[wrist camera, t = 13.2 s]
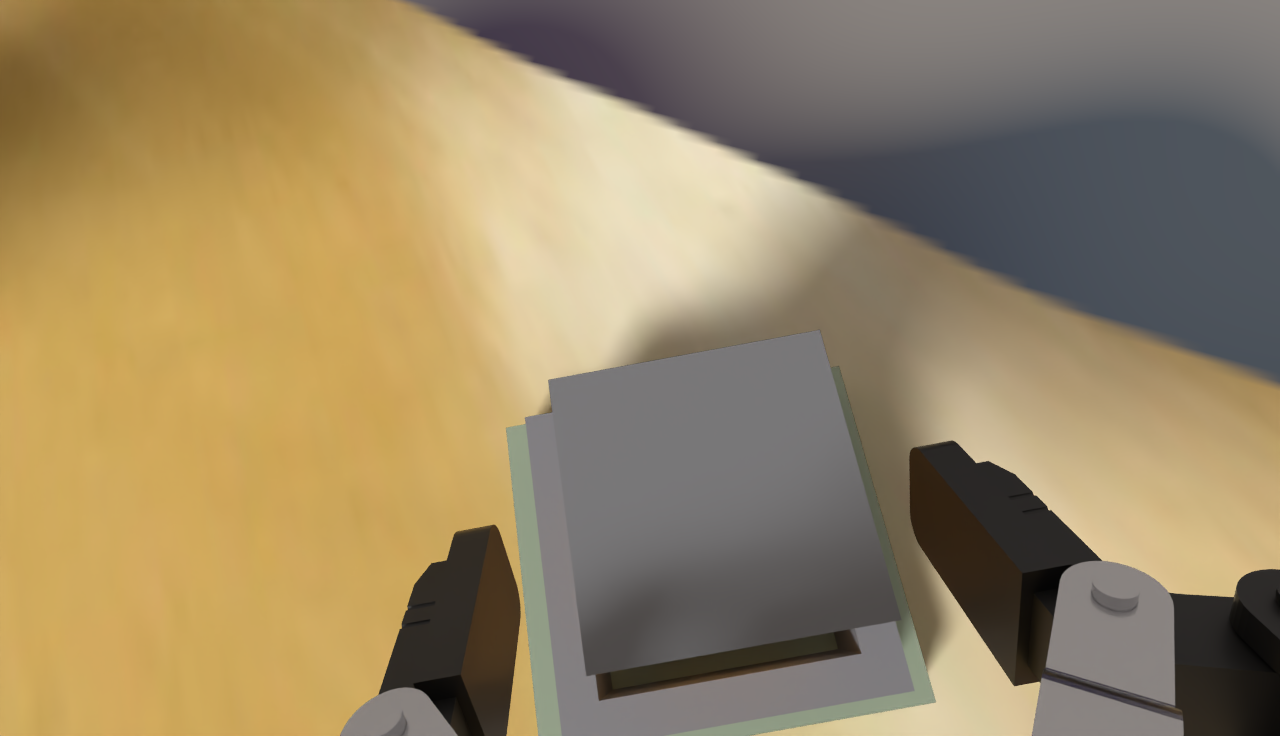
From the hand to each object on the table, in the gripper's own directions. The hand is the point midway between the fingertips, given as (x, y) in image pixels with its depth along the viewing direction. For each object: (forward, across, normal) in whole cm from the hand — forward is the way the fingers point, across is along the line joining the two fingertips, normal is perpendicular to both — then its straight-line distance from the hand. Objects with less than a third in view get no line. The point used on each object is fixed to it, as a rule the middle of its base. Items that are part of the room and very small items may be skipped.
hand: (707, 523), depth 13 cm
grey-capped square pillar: (+6, 0, +6) cm, 8 cm away
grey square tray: (+7, 0, +7) cm, 10 cm away
